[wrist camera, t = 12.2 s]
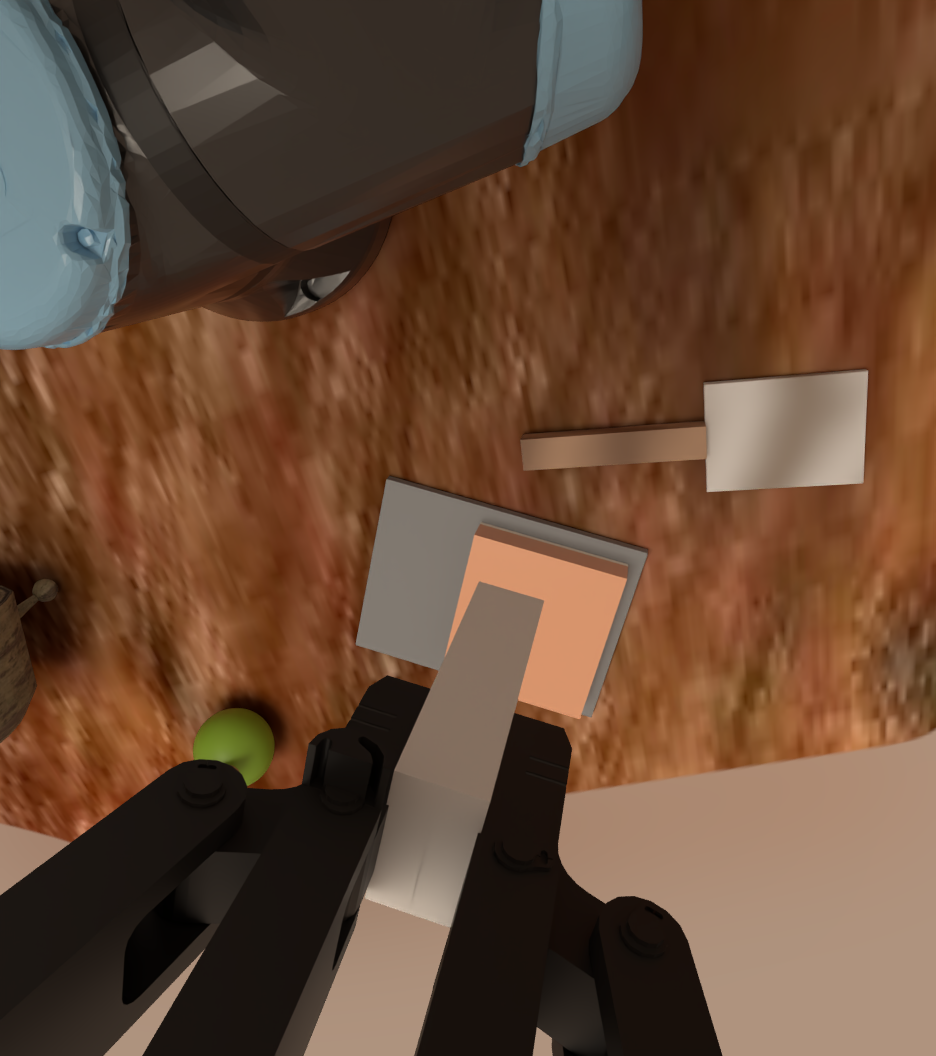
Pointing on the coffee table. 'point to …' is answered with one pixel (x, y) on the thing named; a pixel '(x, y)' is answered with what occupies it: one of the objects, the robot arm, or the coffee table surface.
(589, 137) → the coffee table surface
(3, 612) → the tabletop clock
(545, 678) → the tile
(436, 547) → the mat
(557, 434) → the turner
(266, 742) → the snail figurine
